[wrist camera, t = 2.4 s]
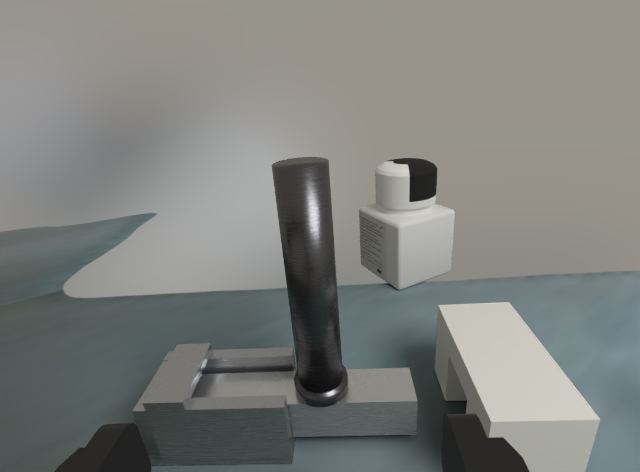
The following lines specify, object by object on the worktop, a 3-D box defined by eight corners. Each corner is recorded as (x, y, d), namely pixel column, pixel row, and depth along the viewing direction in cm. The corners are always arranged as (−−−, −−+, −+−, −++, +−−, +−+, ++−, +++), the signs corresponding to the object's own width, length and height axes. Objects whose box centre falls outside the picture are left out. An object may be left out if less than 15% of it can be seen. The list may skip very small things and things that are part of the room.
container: (408, 249, 50) (410, 151, 45) (452, 272, 43) (460, 161, 38) (360, 265, 47) (356, 161, 42) (398, 292, 40) (399, 173, 35)
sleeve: (151, 465, 24) (129, 403, 22) (182, 400, 28) (166, 344, 26) (292, 463, 23) (282, 399, 21) (299, 397, 28) (292, 340, 26)
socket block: (479, 502, 20) (491, 421, 18) (434, 369, 29) (438, 305, 27) (576, 501, 20) (600, 419, 17) (499, 367, 29) (508, 302, 27)
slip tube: (172, 443, 24) (89, 184, 17) (191, 401, 27) (126, 168, 21) (417, 438, 23) (427, 162, 16) (407, 395, 26) (412, 148, 20)
